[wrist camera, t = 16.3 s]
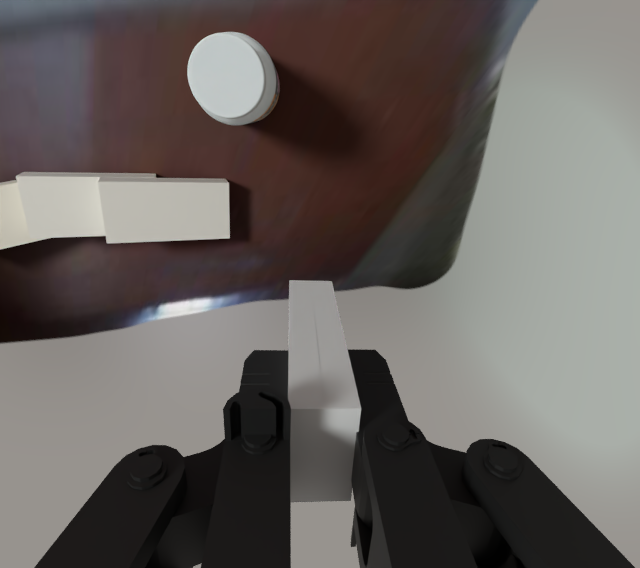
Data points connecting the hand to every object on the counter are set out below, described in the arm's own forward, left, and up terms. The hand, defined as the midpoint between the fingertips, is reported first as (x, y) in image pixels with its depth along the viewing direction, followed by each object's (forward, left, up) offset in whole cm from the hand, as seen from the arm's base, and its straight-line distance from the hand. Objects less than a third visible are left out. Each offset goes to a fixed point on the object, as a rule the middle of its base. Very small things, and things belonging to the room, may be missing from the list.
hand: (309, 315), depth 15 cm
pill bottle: (-5, +8, -25) cm, 27 cm away
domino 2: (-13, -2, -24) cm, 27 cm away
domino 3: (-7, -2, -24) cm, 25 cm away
